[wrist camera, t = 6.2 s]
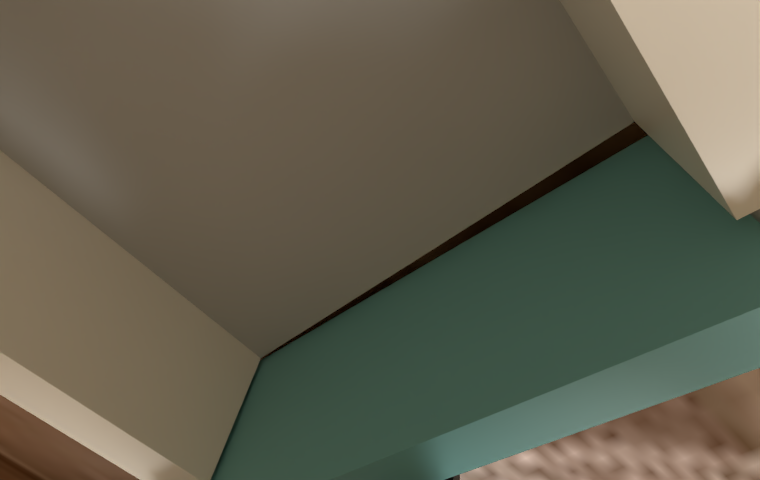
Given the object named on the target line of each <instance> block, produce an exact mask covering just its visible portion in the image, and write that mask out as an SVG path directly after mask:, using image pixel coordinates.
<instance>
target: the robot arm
mask: <svg viewBox="0 0 760 480" xmlns="http://www.w3.org/2000/svg"><path fill="white" fill-rule="evenodd" d="M445 480H460V474H459V475H456V476H453V477H451V478H448V479H445Z"/></svg>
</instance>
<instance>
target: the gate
mask: <svg viewBox="0 0 760 480" xmlns="http://www.w3.org/2000/svg"><path fill="white" fill-rule="evenodd" d="M758 368H760V209H758V210H756V211H754V212H752V213H750V214H748V215H746V216H744V217H742V218H740V219H738V220H736V219H735V218H734V217H733V216H732V215H731V214H730V213H729V212H728V211H727V210H726V209H725V208H723V207H722V206H721V205H720V204H719V203H718V202H717V201H716V200H715V199H714V198H713V197H712V196H711V195H710V194H709V193H708V192H707V191H706V190H705V189H704V188H703V187H702V186H701V185H700V184H699V183H698V182H697V181H695V180H694V179H693V178H692V177H691V176H690V175H689V174H688V173H687V172H686V171H685V170H684V169H683V168H682V167H681V166H680V165H679V164H678V163H677V162H676V161H675V160H674V159H673V158H672V157H671V156H670V155H669V154H667V153H666V152H665V151H664V150H663V149H662V148H661V147H660V146H659V145H658V144H657V143H656V142H655V141H654V140H653V139H652V138H651V137H650V136H649V135H647V136H645V137H644V138H642V139H640V140H639V141H637V142H635V143H633V144H632V145H630V146H628V147H627V148H625V149H623V150H621V151H620V152H618V153H616V154H615V155H613V156H611V157H609V158H608V159H606V160H604V161H602V162H601V163H599V164H597V165H596V166H594V167H592V168H590V169H589V170H587V171H585V172H584V173H582V174H580V175H578V176H577V177H575V178H573V179H572V180H570V181H568V182H566V183H565V184H563V185H561V186H560V187H558V188H556V189H554V190H553V191H551V192H549V193H547V194H546V195H544V196H542V197H541V198H539V199H537V200H535V201H534V202H532V203H530V204H529V205H527V206H525V207H523V208H522V209H520V210H518V211H517V212H515V213H513V214H511V215H510V216H508V217H506V218H504V219H503V220H501V221H499V222H498V223H496V224H494V225H492V226H491V227H489V228H487V229H486V230H484V231H482V232H480V233H479V234H477V235H475V236H474V237H472V238H470V239H468V240H467V241H465V242H463V243H461V244H460V245H458V246H456V247H455V248H453V249H451V250H449V251H448V252H446V253H444V254H443V255H441V256H439V257H437V258H436V259H434V260H432V261H431V262H429V263H427V264H425V265H424V266H422V267H420V268H419V269H417V270H415V271H413V272H412V273H410V274H408V275H406V276H405V277H403V278H401V279H400V280H398V281H396V282H394V283H393V284H391V285H389V286H388V287H386V288H384V289H382V290H381V291H379V292H377V293H376V294H374V295H372V296H370V297H369V298H367V299H365V300H363V301H362V302H360V303H358V304H357V305H355V306H353V307H351V308H350V309H348V310H346V311H345V312H343V313H341V314H339V315H338V316H336V317H334V318H333V319H331V320H329V321H327V322H326V323H324V324H322V325H321V326H319V327H317V328H315V329H314V330H312V331H310V332H308V333H307V334H305V335H303V336H302V337H300V338H298V339H296V340H295V341H293V342H291V343H290V344H288V345H286V346H284V347H283V348H281V349H279V350H278V351H276V352H274V353H272V354H271V355H269V356H267V357H265V358H264V359H262V360H260V361H259V364H258V366H257V369H256V371H255V374H254V376H253V378H252V381H251V383H250V386H249V388H248V390H247V393H246V395H245V398H244V400H243V403H242V405H241V407H240V410H239V412H238V415H237V417H236V419H235V422H234V424H233V427H232V429H231V432H230V434H229V436H228V439H227V441H226V444H225V446H224V448H223V451H222V453H221V456H220V458H219V461H218V463H217V465H216V468H215V470H214V473H213V475H212V477H211V480H445V479H448V478H451V477H453V476H456V475H459V474H462V473H465V472H467V471H470V470H473V469H476V468H479V467H482V466H484V465H487V464H490V463H493V462H496V461H498V460H501V459H504V458H507V457H510V456H513V455H515V454H518V453H521V452H524V451H527V450H529V449H532V448H535V447H538V446H541V445H543V444H546V443H549V442H552V441H555V440H558V439H560V438H563V437H566V436H569V435H572V434H574V433H577V432H580V431H583V430H586V429H589V428H591V427H594V426H597V425H600V424H603V423H605V422H608V421H611V420H614V419H617V418H620V417H622V416H625V415H628V414H631V413H634V412H636V411H639V410H642V409H645V408H648V407H651V406H653V405H656V404H659V403H662V402H665V401H667V400H670V399H673V398H676V397H679V396H681V395H684V394H687V393H690V392H693V391H696V390H698V389H701V388H704V387H707V386H710V385H712V384H715V383H718V382H721V381H724V380H727V379H729V378H732V377H735V376H738V375H741V374H743V373H746V372H749V371H752V370H755V369H758Z"/></svg>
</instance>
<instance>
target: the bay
mask: <svg viewBox="0 0 760 480" xmlns="http://www.w3.org/2000/svg"><path fill="white" fill-rule="evenodd" d="M633 122H635V123H636V124H637V125H638V126H639V127H641V128H642V129H643V130H644V131H645V132H646V133H647V134H648V135H649V136H650V137H651V138H652V139H653V140H654V141H655V142H656V143H657V144H658V145H659V146H660V147H661V148H662V149H663V150H664V151H665V152H666V153H667V154H669V155H670V156H671V157H672V158H673V159H674V160H675V161H676V162H677V163H678V164H679V165H680V166H681V167H682V168H683V169H684V170H685V171H686V172H687V173H688V174H689V175H690V176H691V177H692V178H693V179H694V180H695V181H697V182H698V183H699V184H700V185H701V186H702V187H703V188H704V189H705V190H706V191H707V192H708V193H709V194H710V195H711V196H712V197H713V198H714V199H715V200H716V201H717V202H718V203H719V204H720V205H721V206H722V207H723V208H725V209H726V210H727V211H728V212H729V213H730V214H731V215H732V216H733V217H734V218H735V219H736V220H738V219H740V218H742V217H744V216H746V215H748V214H750V213H752V212H754V211H756V210H758V209H760V0H0V395H2V396H3V397H5V398H7V399H8V400H10V401H12V402H13V403H15V404H17V405H18V406H20V407H21V408H23V409H25V410H26V411H28V412H30V413H31V414H33V415H35V416H36V417H38V418H40V419H41V420H43V421H44V422H46V423H48V424H49V425H51V426H53V427H54V428H56V429H58V430H59V431H61V432H63V433H64V434H66V435H67V436H69V437H71V438H72V439H74V440H76V441H77V442H79V443H81V444H82V445H84V446H86V447H87V448H89V449H90V450H92V451H94V452H95V453H97V454H99V455H100V456H102V457H104V458H105V459H107V460H109V461H110V462H112V463H113V464H115V465H117V466H118V467H120V468H122V469H123V470H125V471H127V472H128V473H130V474H132V475H133V476H135V477H136V478H138V479H140V480H211V477H212V475H213V473H214V470H215V468H216V465H217V463H218V461H219V458H220V456H221V453H222V451H223V448H224V446H225V444H226V441H227V439H228V436H229V434H230V432H231V429H232V427H233V424H234V422H235V419H236V417H237V415H238V412H239V410H240V407H241V405H242V403H243V400H244V398H245V395H246V393H247V390H248V388H249V386H250V383H251V381H252V378H253V376H254V374H255V371H256V369H257V366H258V364H259V361H260V359H261V358H262V357H264V356H265V355H267V354H268V353H270V352H272V351H273V350H275V349H276V348H278V347H279V346H281V345H283V344H284V343H286V342H287V341H289V340H290V339H292V338H294V337H295V336H297V335H298V334H300V333H302V332H303V331H305V330H306V329H308V328H309V327H311V326H313V325H314V324H316V323H317V322H319V321H321V320H322V319H324V318H325V317H327V316H328V315H330V314H332V313H333V312H335V311H336V310H338V309H339V308H341V307H343V306H344V305H346V304H347V303H349V302H351V301H352V300H354V299H355V298H357V297H358V296H360V295H362V294H363V293H365V292H366V291H368V290H370V289H371V288H373V287H374V286H376V285H377V284H379V283H381V282H382V281H384V280H385V279H387V278H388V277H390V276H392V275H393V274H395V273H396V272H398V271H400V270H401V269H403V268H404V267H406V266H407V265H409V264H411V263H412V262H414V261H415V260H417V259H418V258H420V257H422V256H423V255H425V254H426V253H428V252H430V251H431V250H433V249H434V248H436V247H437V246H439V245H441V244H442V243H444V242H445V241H447V240H449V239H450V238H452V237H453V236H455V235H456V234H458V233H460V232H461V231H463V230H464V229H466V228H467V227H469V226H471V225H472V224H474V223H475V222H477V221H479V220H480V219H482V218H483V217H485V216H486V215H488V214H490V213H491V212H493V211H494V210H496V209H498V208H499V207H501V206H502V205H504V204H505V203H507V202H509V201H510V200H512V199H513V198H515V197H516V196H518V195H520V194H521V193H523V192H524V191H526V190H528V189H529V188H531V187H532V186H534V185H535V184H537V183H539V182H540V181H542V180H543V179H545V178H546V177H548V176H550V175H551V174H553V173H554V172H556V171H558V170H559V169H561V168H562V167H564V166H565V165H567V164H569V163H570V162H572V161H573V160H575V159H577V158H578V157H580V156H581V155H583V154H584V153H586V152H588V151H589V150H591V149H592V148H594V147H595V146H597V145H599V144H600V143H602V142H603V141H605V140H607V139H608V138H610V137H611V136H613V135H614V134H616V133H618V132H619V131H621V130H622V129H624V128H625V127H627V126H629V125H630V124H632V123H633Z"/></svg>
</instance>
